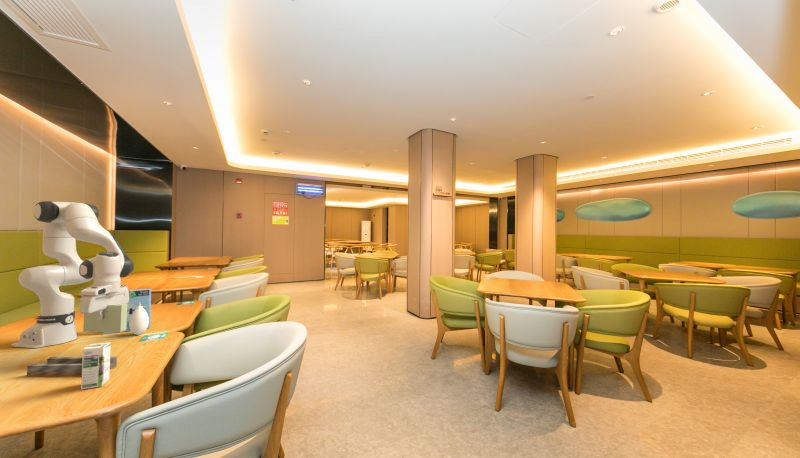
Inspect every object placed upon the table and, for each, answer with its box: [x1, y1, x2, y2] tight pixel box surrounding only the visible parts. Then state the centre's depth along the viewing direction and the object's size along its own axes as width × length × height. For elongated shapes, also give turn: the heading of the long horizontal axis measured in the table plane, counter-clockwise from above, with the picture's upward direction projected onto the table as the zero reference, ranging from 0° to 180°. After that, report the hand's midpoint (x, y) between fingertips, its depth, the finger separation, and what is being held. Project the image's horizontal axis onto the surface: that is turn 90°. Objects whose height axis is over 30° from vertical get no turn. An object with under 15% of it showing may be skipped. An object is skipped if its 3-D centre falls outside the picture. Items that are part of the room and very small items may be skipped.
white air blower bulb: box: [129, 303, 149, 336], centre depth 159 cm, size 8×8×18 cm
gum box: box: [102, 288, 152, 335], centre depth 165 cm, size 20×5×23 cm, turn 123°
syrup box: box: [80, 341, 112, 391], centre depth 106 cm, size 6×6×14 cm
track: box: [26, 356, 118, 377], centre depth 116 cm, size 26×8×4 cm, turn 93°
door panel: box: [82, 304, 128, 333], centre depth 131 cm, size 16×3×12 cm, turn 93°
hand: (105, 318), depth 131 cm, fingers closed on door panel, 3 cm apart
